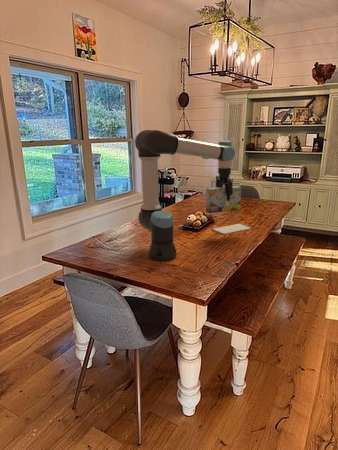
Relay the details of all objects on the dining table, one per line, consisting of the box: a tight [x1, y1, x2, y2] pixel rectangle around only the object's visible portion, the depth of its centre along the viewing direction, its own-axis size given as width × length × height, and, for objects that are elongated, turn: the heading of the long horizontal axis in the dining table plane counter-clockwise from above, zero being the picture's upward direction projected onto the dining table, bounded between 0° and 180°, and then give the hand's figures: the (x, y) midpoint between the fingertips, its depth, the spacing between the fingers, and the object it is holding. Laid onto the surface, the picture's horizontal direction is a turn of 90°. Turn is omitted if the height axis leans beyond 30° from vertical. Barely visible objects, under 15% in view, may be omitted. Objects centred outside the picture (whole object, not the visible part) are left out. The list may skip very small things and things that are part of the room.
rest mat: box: [210, 222, 253, 236], centre depth 214 cm, size 12×26×1 cm, turn 120°
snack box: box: [205, 185, 242, 214], centre depth 196 cm, size 21×6×15 cm, turn 106°
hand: (223, 204), depth 197 cm, fingers closed on snack box, 6 cm apart
